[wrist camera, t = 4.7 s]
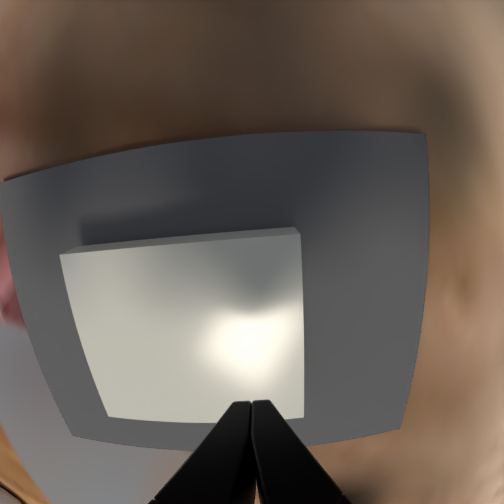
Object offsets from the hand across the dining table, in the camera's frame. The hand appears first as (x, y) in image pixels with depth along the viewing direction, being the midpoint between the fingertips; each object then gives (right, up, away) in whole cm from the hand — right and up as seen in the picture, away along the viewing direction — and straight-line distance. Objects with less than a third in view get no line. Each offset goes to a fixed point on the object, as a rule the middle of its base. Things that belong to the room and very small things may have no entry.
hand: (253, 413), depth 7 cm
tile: (+2, +1, +4) cm, 4 cm away
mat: (-2, +1, +5) cm, 6 cm away
